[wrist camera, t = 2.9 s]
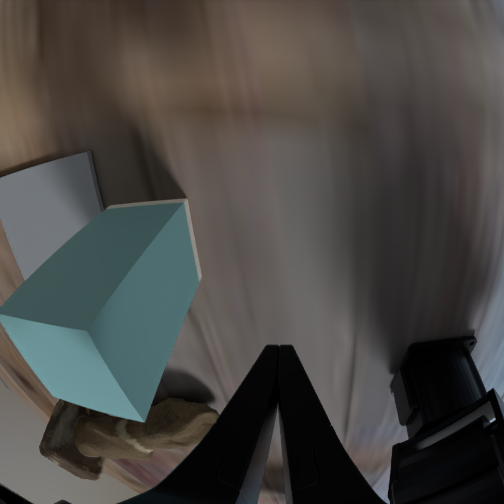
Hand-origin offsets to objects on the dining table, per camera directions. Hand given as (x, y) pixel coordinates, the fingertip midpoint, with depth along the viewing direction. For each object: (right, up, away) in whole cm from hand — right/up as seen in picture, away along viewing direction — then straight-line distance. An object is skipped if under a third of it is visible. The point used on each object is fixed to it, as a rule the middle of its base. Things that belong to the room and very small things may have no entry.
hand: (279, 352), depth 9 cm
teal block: (-7, +4, +8) cm, 11 cm away
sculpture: (-14, -14, +19) cm, 27 cm away
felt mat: (-15, +4, +9) cm, 18 cm away
